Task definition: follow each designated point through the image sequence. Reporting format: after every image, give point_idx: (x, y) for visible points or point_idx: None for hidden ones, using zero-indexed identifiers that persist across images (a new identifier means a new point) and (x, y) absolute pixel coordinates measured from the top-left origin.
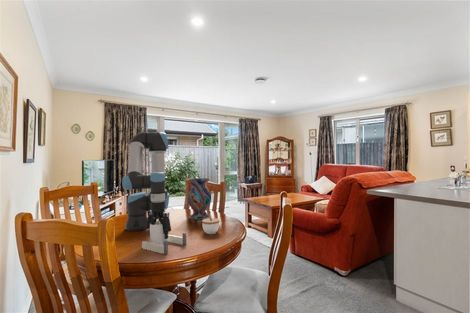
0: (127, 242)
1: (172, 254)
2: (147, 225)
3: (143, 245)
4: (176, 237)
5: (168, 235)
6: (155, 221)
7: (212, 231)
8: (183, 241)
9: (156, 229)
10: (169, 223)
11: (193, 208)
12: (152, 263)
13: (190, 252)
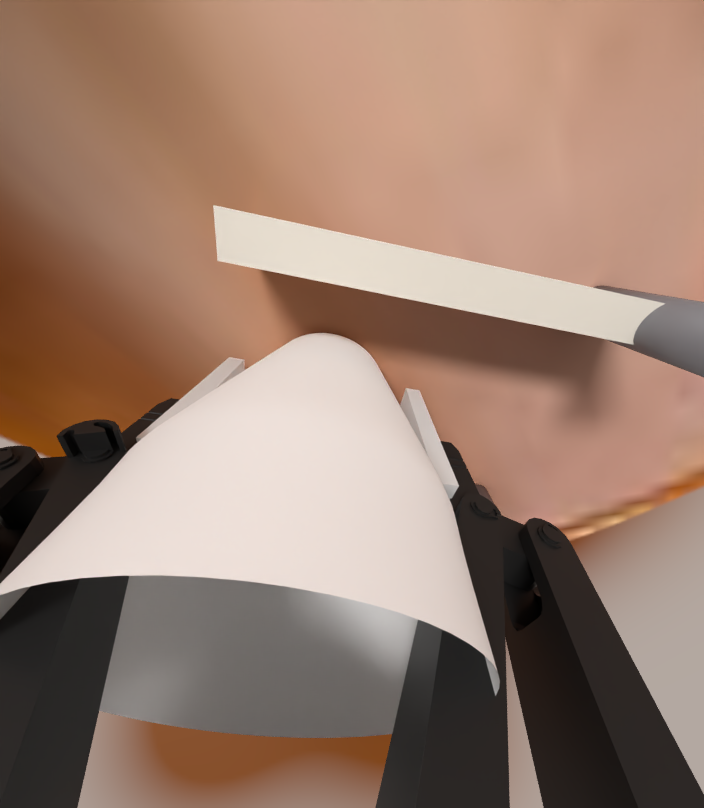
0: (10, 402)
1: (522, 494)
2: (4, 564)
3: None
4: (524, 322)
5: (367, 288)
6: (61, 677)
7: None
8: (614, 342)
9: (352, 626)
10: (647, 731)
11: None
12: None
13: (658, 448)
